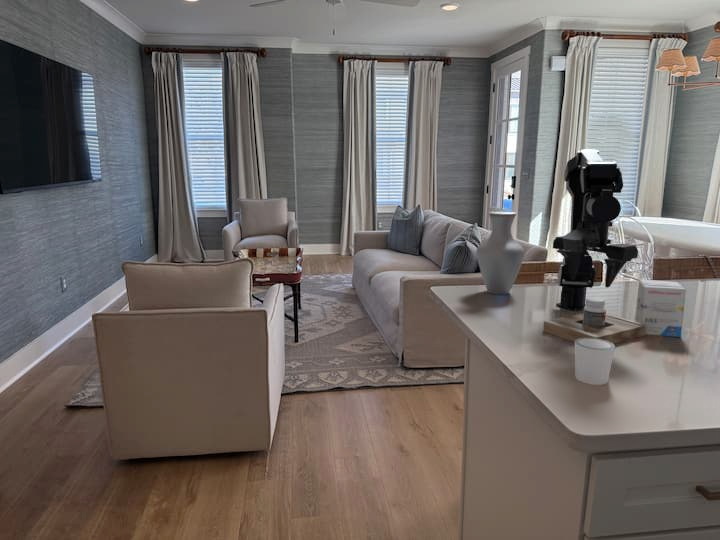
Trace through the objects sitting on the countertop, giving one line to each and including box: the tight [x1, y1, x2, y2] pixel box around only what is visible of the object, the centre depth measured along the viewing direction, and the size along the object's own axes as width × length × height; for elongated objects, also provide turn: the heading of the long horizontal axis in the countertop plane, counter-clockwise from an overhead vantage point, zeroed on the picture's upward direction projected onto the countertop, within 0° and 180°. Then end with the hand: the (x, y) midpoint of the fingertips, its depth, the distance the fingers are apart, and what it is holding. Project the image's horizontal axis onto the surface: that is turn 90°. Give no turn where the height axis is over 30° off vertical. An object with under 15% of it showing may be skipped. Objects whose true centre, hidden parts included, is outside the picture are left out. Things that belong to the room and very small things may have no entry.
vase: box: [476, 211, 526, 296], centre depth 158 cm, size 14×14×25 cm
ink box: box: [634, 278, 687, 338], centre depth 122 cm, size 9×8×12 cm
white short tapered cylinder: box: [574, 338, 616, 386], centre depth 95 cm, size 7×7×7 cm
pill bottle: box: [583, 296, 607, 329], centre depth 120 cm, size 5×5×8 cm
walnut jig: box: [542, 312, 646, 345], centre depth 121 cm, size 18×14×3 cm
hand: (589, 283), depth 121 cm, fingers open, 9 cm apart
